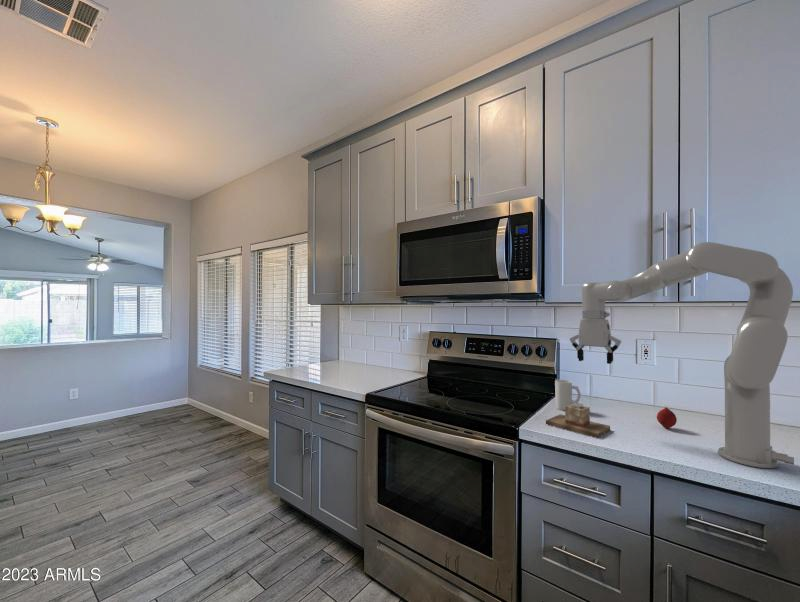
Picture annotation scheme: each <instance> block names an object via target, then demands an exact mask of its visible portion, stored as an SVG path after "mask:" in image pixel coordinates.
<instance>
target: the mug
mask: <svg viewBox="0 0 800 602" xmlns="http://www.w3.org/2000/svg"><path fill="white" fill-rule="evenodd" d="M554 386H555V387H554V389H555V392H554V395H555V409H557V410H559V411H562V410H563V411H564V412H565V407H566V406H568V405H570V404H573V403H579V401H580V400H581V391H580V389H579V386H578V385H573V381H571V380H568V379H555V380H554ZM573 390H575V392H576V393H577V397H576V399H575V400H573V394H572V393H573Z"/></svg>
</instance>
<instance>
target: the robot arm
mask: <svg viewBox="0 0 800 602" xmlns="http://www.w3.org/2000/svg"><path fill="white" fill-rule="evenodd" d="M707 273H712V274H716V275H720V276H724V277H728V278H732V279H733V278H734V279H737V280H739V281H740V282H742V283H745V284H746V285H747V287H748V289H749V296H748V299H747V304H746V307H745V309H744V310H745V311H744V313H743V316H742V319H741V320H740V323H739V324H738V326H737V328H736V337H735V340H734V343H733V346H732V349H731V352H730V355H728V356H727V357H726V358H725V361H724V363H723V373H724V375H723V378H724V446H720V447H718V449H717V452H718V455H720V456H721V457H723V458H724V459H727V460H729V461H731V462H735V463H738V464H741V465H745V466H747V467H748V466H749V467H753V468H761V469H775V468H778V467H779V462H782V463H785V464H788V465H793V466H794V465H795V456H794V457H793V456H789V454H786V453H780V452H777V451H776V450H773V446H772V445H771V390H770V388H771V387H770V384H771V383H772V381H773V380H774V378H775V375H776V373H777V370H778V368H779V365H780V362H781V360H782V357H783V354H784V352H785V350H786V349H785V348H786V346H787V342H788V335H789V334H788V331H787V329H786V327H785V324H786V320H787V318H788V315H789V311H790V307H791V305H792V300H793V297H794V296H793V294H794V289H793V284H792V281H791V280H790V278H789V277H788V275H787V273H786V272H785V271H784V270H783V269H781V268H780V267H779V262H778V260H777V259H776V257H774V255H773V256H772V254H769V253H767V252H764V251H758V250H756V249H755V250H754V249H751V248H750V249H749V248H744V247H738V246H732V245H727V244H722V243H718V242H711V241H706V242H705V241H704V242H700V243H699V242H698V243H697V244H695V245H693V246H692V247H691V248H690V249H689V250H686V251H684V252H682V253H680V254H677V255H674V256H672V257H669V258H667V259H663V260H660V261H658V262H656V263H654V264H652V265H651V266H649V268H647V269H646V270H644V271H642V272H641V273H638V274H636V275H634V276H631V277H629V278H626V279H623V280H610V281H603V282H585V283H583V284H582V286H581V308H582V309H581V310H582V313H581V314H582V317H581V319H580V321H579V328H578V334H576V335H574V336H572V337H570V338H569V341H570V343H571V345H572V346H573V347H574V348H575V350H576V351H577V353H576V354H577V359H578V361H579V362H583V361H584V359H585V356H584V353H585V352H584V349H583V348H585V347H594V348H595V347H599V348H605V349H606V351H607V352H606V364H607V365H610V364H612V363H613V362H614V353H615V351H616V350H618V349H619V347H620V345H621V343H622V340H621V339H619V338H617V337H615V336H612V333H611V325H610V321H609V319H607V317H610V316H611V314H610V313H611V312H607V311H606V302H613V303H614V302H617V303H624V302H626V301H630V300H632V299H635V298H638V297H641V296H644V295H647V294H649V293H652V292H655V291H658V290H662V289H665V288H667V287H670V286H673V285H676V284H678V283H681V282H684V281H688V280H689V279H693V278H696V277H699V276H701V275H705V274H707ZM576 340H578V343H577V342H576ZM612 342H614V345H613V346H612Z"/></svg>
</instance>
